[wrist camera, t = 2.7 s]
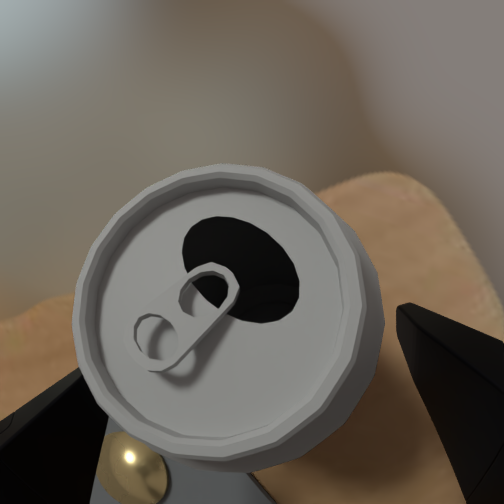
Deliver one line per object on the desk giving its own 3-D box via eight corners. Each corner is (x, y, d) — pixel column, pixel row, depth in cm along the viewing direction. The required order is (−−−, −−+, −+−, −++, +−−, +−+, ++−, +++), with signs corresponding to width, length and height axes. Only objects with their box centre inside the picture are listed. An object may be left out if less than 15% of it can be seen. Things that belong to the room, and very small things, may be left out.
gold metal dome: (185, 488, 14) (183, 490, 13) (126, 516, 13) (123, 517, 13) (137, 417, 16) (133, 417, 15) (85, 450, 15) (81, 450, 15)
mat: (320, 548, 11) (319, 553, 11) (165, 602, 10) (162, 606, 10) (155, 337, 18) (151, 335, 18) (42, 423, 17) (36, 423, 16)
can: (373, 345, 16) (473, 260, 5) (278, 451, 14) (201, 561, 4) (269, 263, 19) (204, 99, 8) (181, 359, 17) (11, 302, 7)
